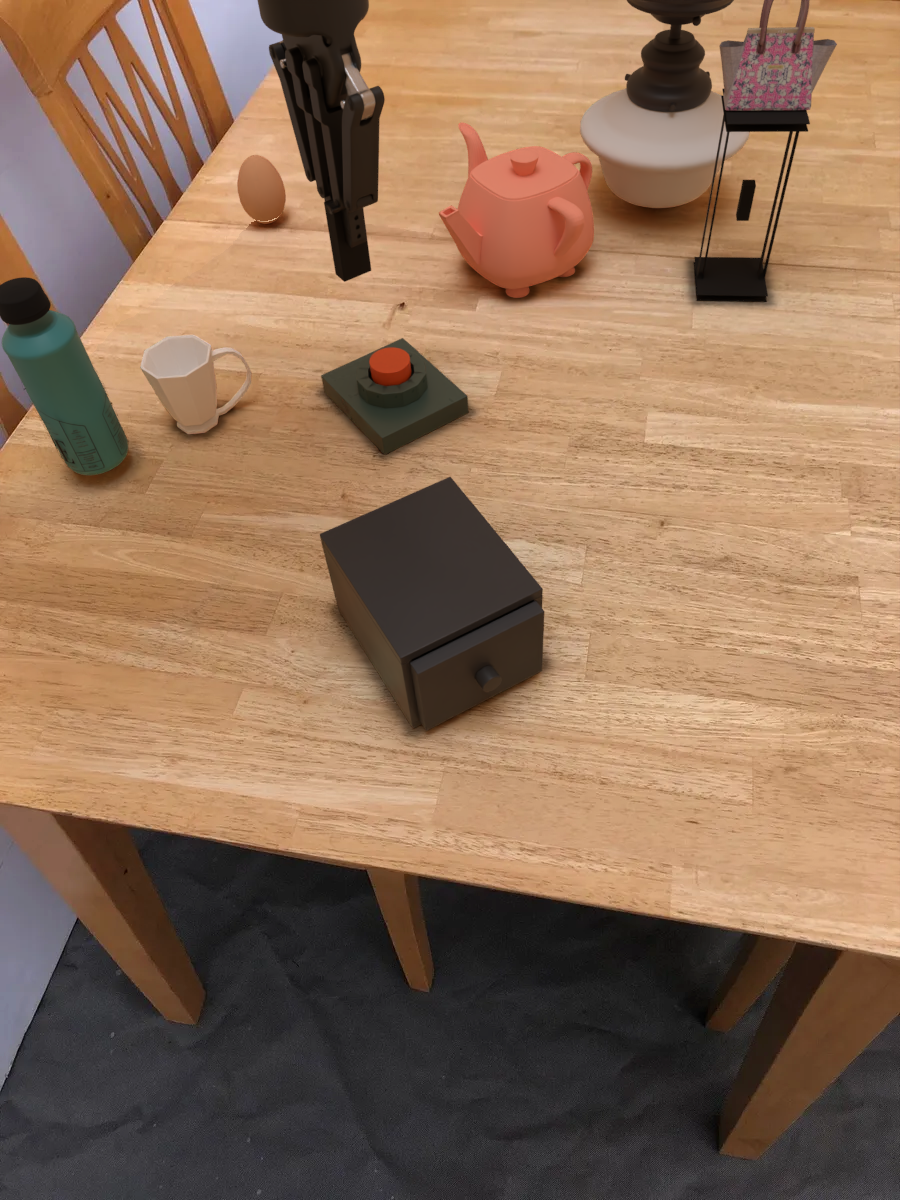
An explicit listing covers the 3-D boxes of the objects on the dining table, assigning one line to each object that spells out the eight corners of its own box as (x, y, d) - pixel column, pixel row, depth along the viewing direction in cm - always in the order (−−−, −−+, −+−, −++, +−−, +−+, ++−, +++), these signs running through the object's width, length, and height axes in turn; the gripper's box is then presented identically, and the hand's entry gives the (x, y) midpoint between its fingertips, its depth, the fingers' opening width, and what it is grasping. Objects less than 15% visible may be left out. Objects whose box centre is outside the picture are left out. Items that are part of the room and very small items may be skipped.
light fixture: (767, 220, 111) (821, -21, 91) (622, 262, 108) (646, 20, 88) (682, 150, 123) (714, -78, 103) (549, 185, 119) (556, -44, 99)
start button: (364, 372, 92) (361, 357, 91) (397, 356, 93) (395, 342, 92) (385, 392, 90) (382, 378, 89) (419, 376, 91) (417, 361, 90)
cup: (156, 411, 96) (131, 346, 89) (248, 381, 98) (229, 316, 92) (174, 452, 92) (148, 387, 85) (269, 419, 94) (251, 354, 88)
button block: (324, 392, 96) (317, 360, 93) (404, 354, 99) (401, 323, 96) (384, 455, 90) (379, 423, 87) (468, 412, 93) (467, 381, 90)
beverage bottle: (149, 452, 92) (73, 272, 76) (108, 496, 88) (19, 318, 73) (97, 436, 94) (12, 258, 78) (55, 479, 90) (-43, 301, 75)
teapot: (443, 305, 104) (435, 190, 94) (463, 225, 115) (457, 113, 104) (587, 310, 102) (595, 193, 92) (594, 228, 112) (602, 114, 102)
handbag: (683, 300, 102) (733, -6, 79) (681, 262, 107) (727, -38, 83) (781, 302, 101) (861, -9, 78) (774, 263, 106) (848, -41, 82)
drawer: (551, 682, 72) (554, 622, 65) (433, 743, 69) (425, 687, 63) (463, 567, 79) (458, 504, 73) (354, 618, 77) (340, 557, 70)
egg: (294, 209, 119) (281, 144, 113) (285, 233, 116) (271, 168, 109) (251, 209, 120) (236, 144, 113) (241, 233, 116) (224, 168, 110)
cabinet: (540, 663, 74) (543, 588, 66) (412, 729, 71) (400, 658, 63) (456, 554, 81) (450, 475, 74) (338, 609, 78) (319, 533, 71)
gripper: (407, -37, 59) (431, 290, 77) (308, -85, 66) (352, 226, 84) (304, -6, 56) (355, 324, 75) (212, -59, 63) (279, 255, 82)
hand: (353, 272), depth 79 cm, fingers closed
